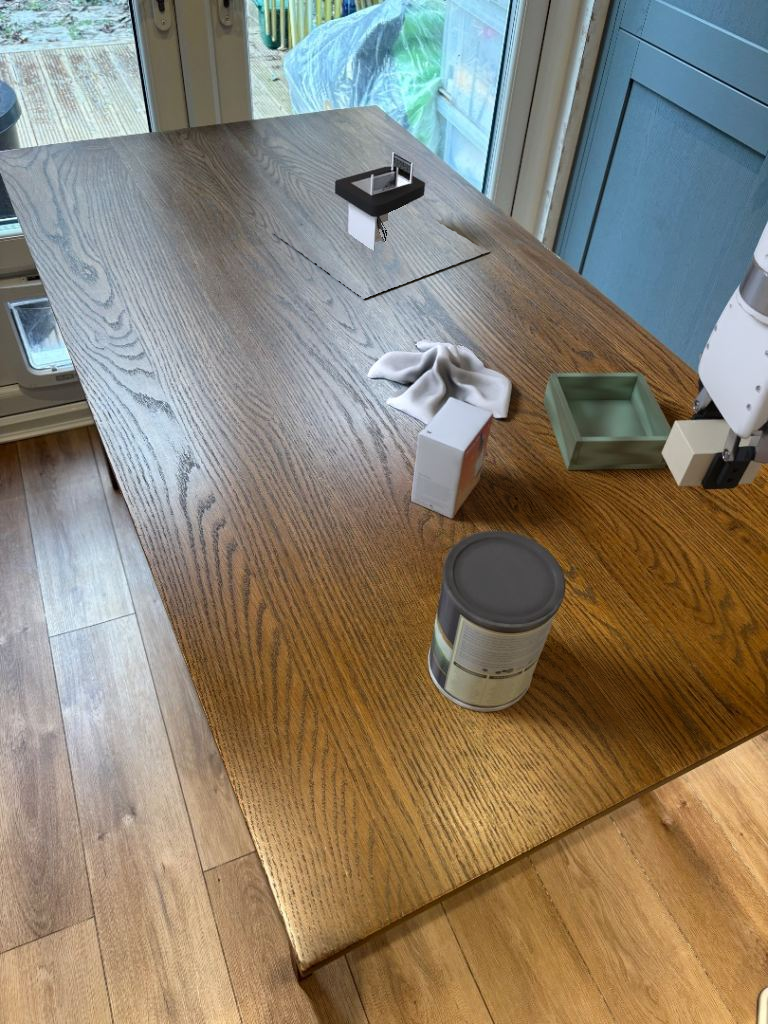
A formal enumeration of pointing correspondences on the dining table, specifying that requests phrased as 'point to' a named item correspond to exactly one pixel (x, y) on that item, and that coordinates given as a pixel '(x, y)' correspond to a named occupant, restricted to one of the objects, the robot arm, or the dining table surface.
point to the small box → (450, 456)
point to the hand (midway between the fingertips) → (707, 465)
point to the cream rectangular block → (699, 450)
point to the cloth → (442, 380)
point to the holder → (606, 421)
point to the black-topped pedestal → (377, 198)
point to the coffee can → (493, 618)
